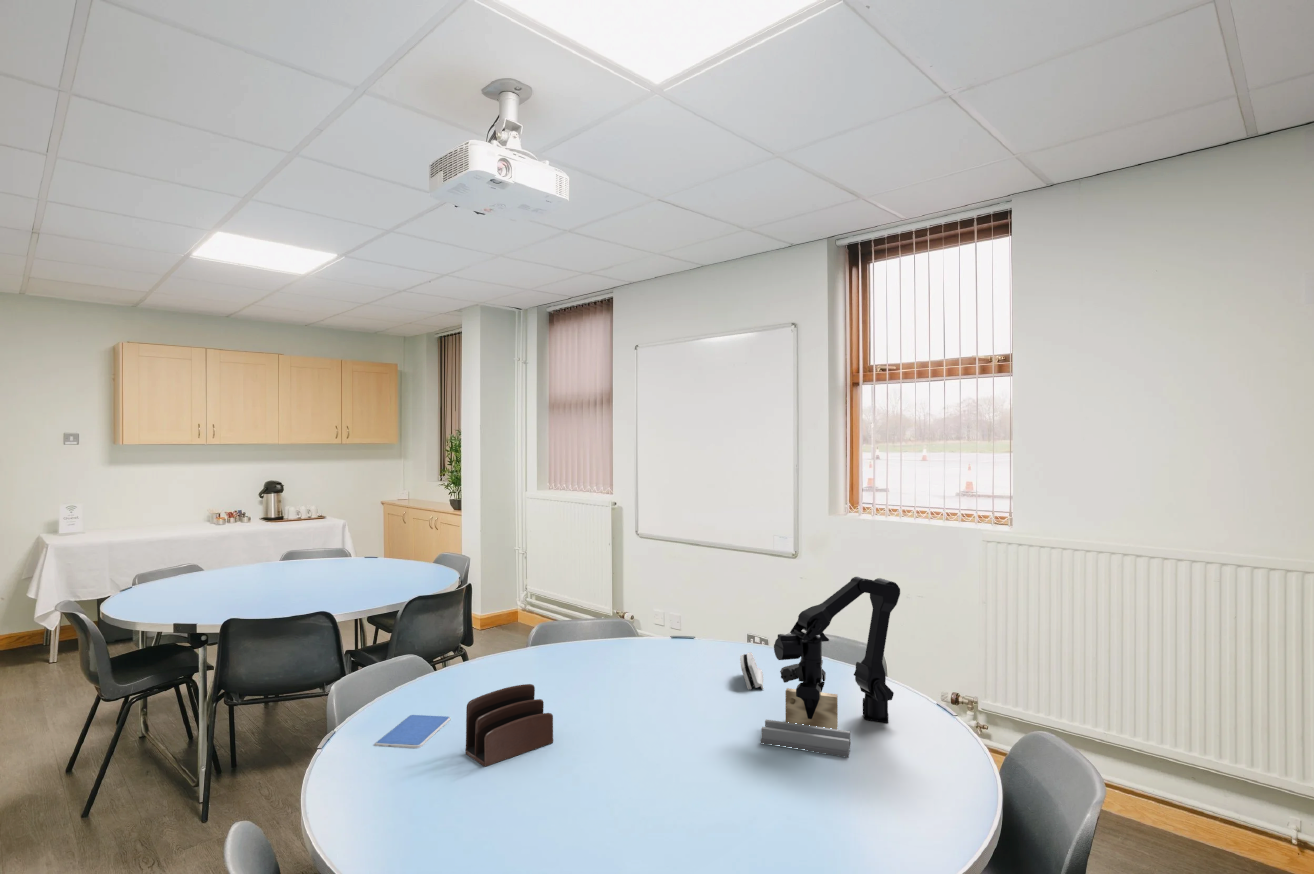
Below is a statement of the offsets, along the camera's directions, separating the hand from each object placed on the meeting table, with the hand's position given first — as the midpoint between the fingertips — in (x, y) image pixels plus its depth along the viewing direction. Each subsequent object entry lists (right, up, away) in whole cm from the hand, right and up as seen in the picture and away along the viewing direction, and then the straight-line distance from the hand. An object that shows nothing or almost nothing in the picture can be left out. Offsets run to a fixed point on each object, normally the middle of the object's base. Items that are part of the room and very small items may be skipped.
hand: (811, 713), depth 182 cm
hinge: (-11, -5, +36) cm, 38 cm away
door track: (-4, -3, -12) cm, 13 cm away
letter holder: (-81, -2, -17) cm, 82 cm away
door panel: (0, -3, 0) cm, 3 cm away
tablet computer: (-109, -3, -7) cm, 109 cm away
